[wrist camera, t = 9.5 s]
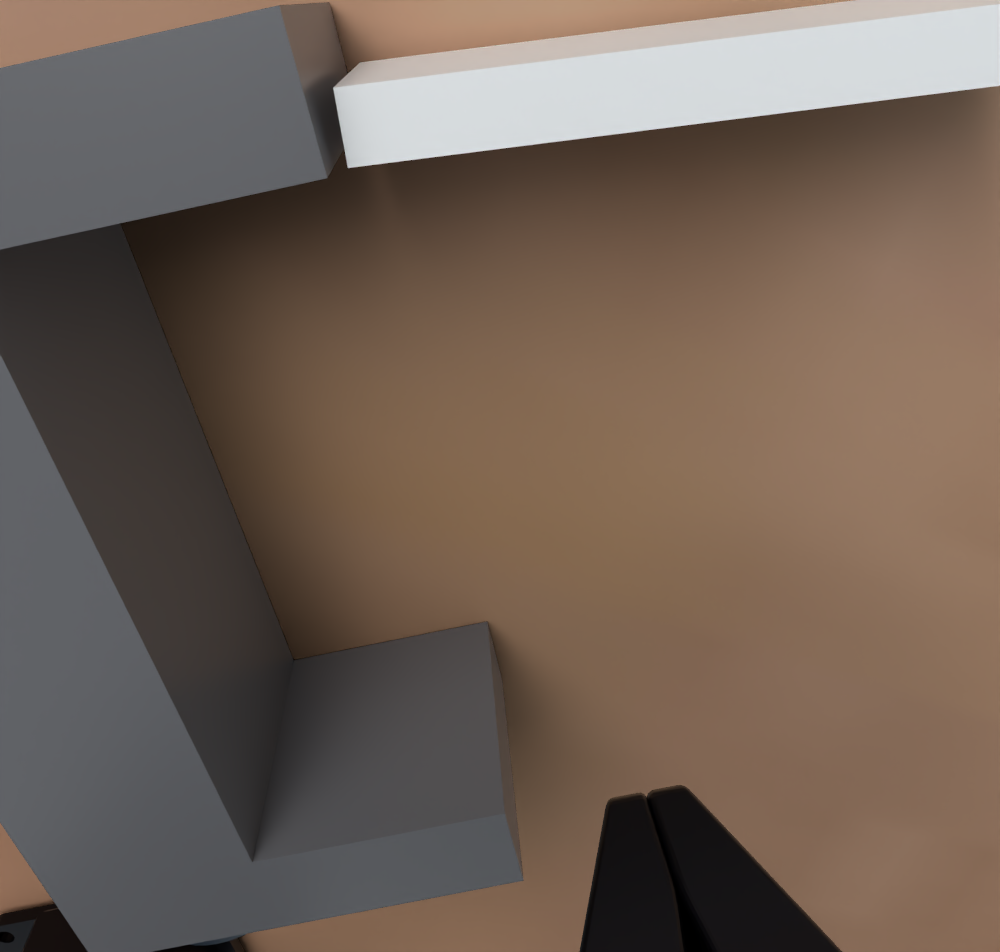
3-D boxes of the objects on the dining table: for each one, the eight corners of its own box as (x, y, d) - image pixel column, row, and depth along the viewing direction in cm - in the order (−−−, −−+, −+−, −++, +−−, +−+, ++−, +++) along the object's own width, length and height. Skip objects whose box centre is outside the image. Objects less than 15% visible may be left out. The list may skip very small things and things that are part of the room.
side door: (991, -17, 16) (1204, -22, 12) (983, 44, 17) (1184, 62, 12) (360, 62, 16) (333, 87, 12) (369, 122, 16) (348, 168, 12)
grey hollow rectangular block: (511, 714, 24) (533, 917, 19) (185, 778, 24) (118, 996, 19) (329, 2, 16) (279, 5, 11) (-158, 111, 16) (-444, 168, 11)
